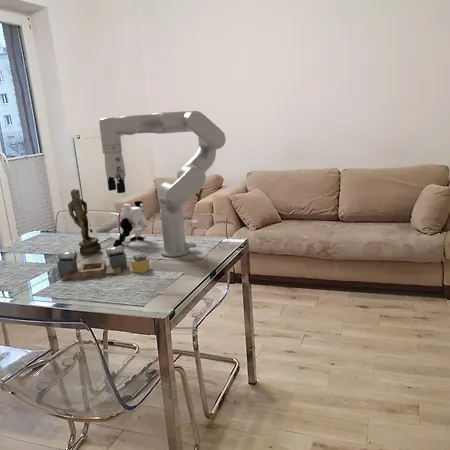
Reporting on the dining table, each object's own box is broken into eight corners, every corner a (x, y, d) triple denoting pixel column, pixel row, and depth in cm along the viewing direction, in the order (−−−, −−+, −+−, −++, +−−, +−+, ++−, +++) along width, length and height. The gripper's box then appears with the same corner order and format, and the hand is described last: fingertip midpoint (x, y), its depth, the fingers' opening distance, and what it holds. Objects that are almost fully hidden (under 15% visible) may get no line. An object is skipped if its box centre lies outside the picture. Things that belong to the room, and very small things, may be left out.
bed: (121, 265, 196) (121, 259, 195) (120, 274, 185) (119, 267, 184) (66, 271, 192) (65, 265, 192) (62, 281, 182) (61, 274, 181)
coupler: (139, 267, 192) (137, 253, 190) (149, 268, 190) (148, 254, 189) (132, 271, 187) (130, 257, 186) (143, 272, 186) (142, 258, 184)
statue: (96, 256, 211) (87, 190, 203) (73, 256, 213) (64, 190, 206) (106, 249, 221) (98, 185, 213) (85, 249, 223) (76, 186, 216)
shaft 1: (59, 275, 188) (55, 253, 186) (63, 272, 192) (60, 250, 190) (75, 275, 187) (72, 253, 185) (79, 271, 191) (76, 249, 189)
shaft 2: (124, 265, 196) (122, 243, 194) (127, 268, 192) (124, 246, 190) (108, 268, 193) (105, 246, 191) (110, 271, 189) (107, 249, 187)
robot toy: (139, 235, 241) (135, 197, 236) (157, 240, 232) (153, 200, 226) (107, 245, 227) (102, 204, 222) (125, 250, 218) (121, 207, 213)
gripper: (129, 149, 183) (134, 192, 187) (113, 147, 197) (117, 187, 201) (111, 151, 179) (116, 195, 183) (95, 149, 193) (100, 190, 197)
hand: (116, 191), depth 192 cm, fingers open, 9 cm apart
